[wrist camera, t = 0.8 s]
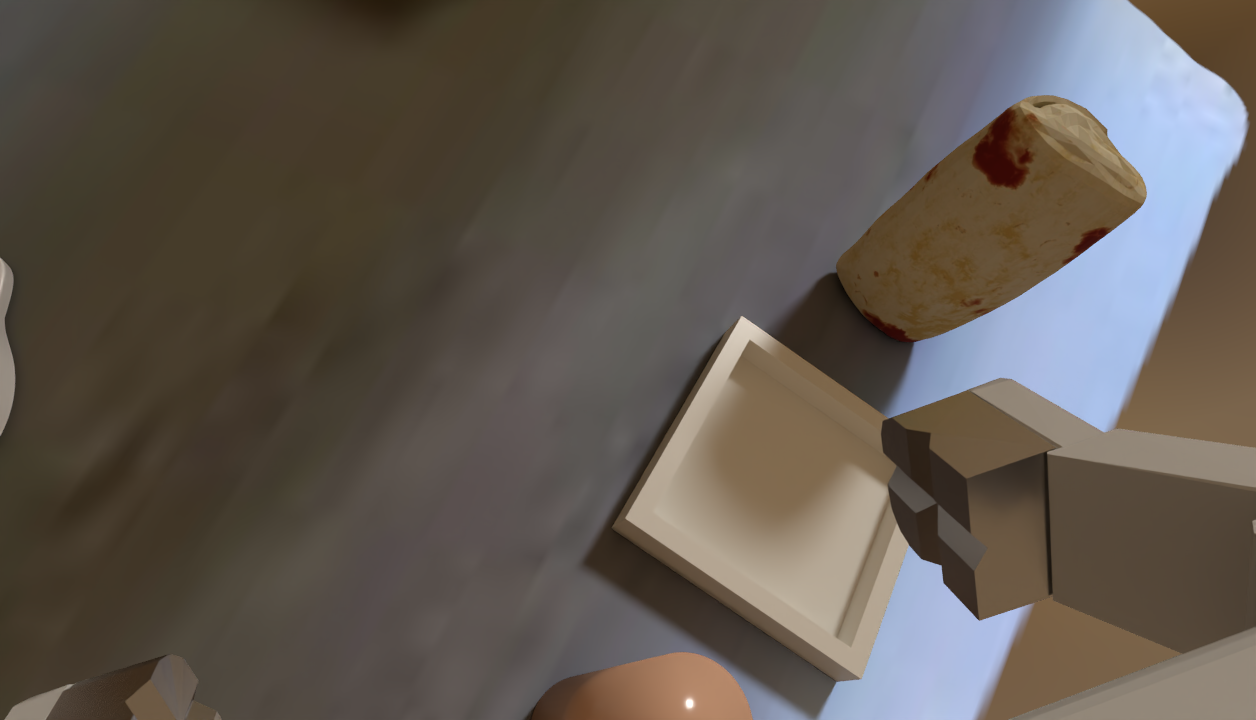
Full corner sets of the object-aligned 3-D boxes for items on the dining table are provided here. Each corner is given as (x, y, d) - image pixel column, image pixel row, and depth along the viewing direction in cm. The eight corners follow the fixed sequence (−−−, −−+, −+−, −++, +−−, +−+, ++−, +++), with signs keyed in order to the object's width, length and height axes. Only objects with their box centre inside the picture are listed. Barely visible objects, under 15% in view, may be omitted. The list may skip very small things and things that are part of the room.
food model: (808, 292, 59) (1010, 108, 42) (846, 238, 62) (1047, 48, 45) (913, 378, 59) (1158, 230, 41) (945, 320, 62) (1184, 160, 45)
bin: (611, 528, 47) (625, 518, 45) (725, 332, 55) (741, 315, 53) (836, 681, 47) (861, 679, 45) (916, 465, 56) (940, 454, 53)
